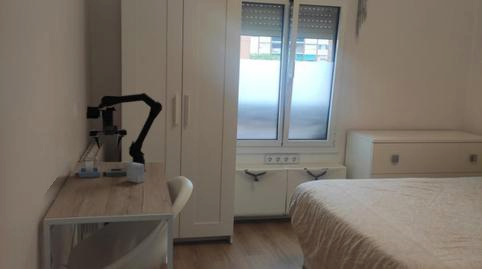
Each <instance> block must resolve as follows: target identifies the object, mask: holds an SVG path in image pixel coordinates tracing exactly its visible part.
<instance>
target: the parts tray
mask: <svg viewBox="0 0 482 269" xmlns="http://www.w3.org/2000/svg"><path fill="white" fill-rule="evenodd" d="M85 171H86V166H85V167H83V166H82V167H78V179H81V178H84V177H89V178H101V169H100V166H93V172H85Z"/></svg>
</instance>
